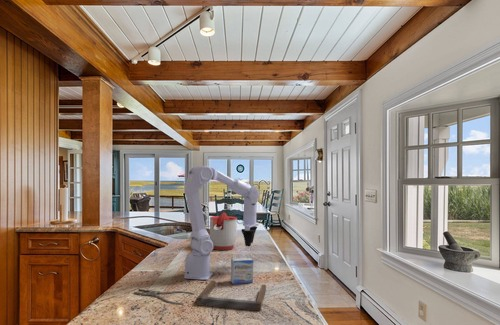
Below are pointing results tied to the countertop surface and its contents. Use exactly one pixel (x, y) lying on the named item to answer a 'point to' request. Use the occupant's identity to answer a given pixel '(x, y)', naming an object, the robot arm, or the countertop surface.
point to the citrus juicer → (223, 231)
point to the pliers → (154, 293)
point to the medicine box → (241, 270)
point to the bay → (230, 303)
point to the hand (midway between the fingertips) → (249, 244)
